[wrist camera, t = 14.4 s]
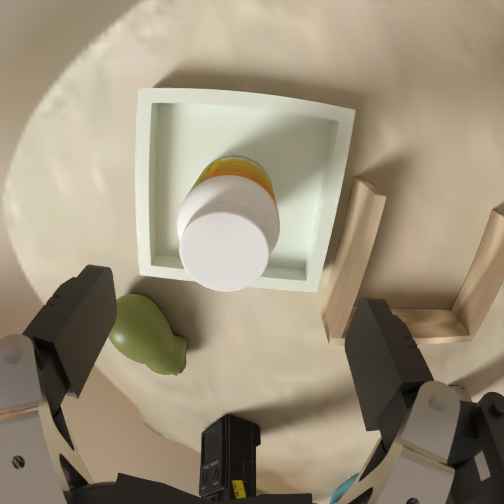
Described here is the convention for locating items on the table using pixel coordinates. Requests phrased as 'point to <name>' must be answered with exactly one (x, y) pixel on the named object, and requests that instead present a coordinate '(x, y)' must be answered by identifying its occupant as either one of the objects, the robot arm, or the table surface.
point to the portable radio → (229, 460)
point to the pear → (147, 336)
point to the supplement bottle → (228, 224)
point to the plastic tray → (252, 146)
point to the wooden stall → (417, 320)
